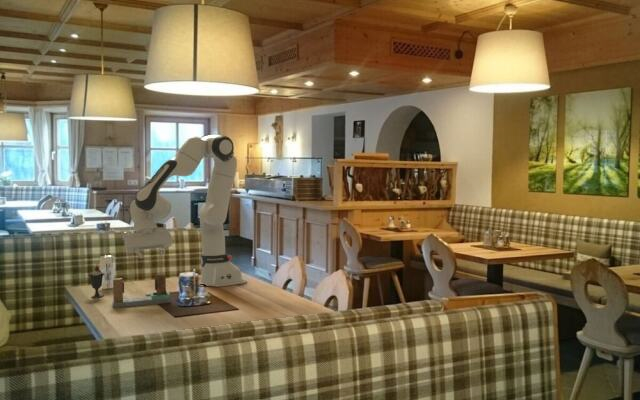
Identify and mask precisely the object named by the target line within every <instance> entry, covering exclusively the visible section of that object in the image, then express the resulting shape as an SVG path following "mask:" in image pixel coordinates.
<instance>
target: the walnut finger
mask: <svg viewBox="0 0 640 400" xmlns="http://www.w3.org/2000/svg"><path fill="white" fill-rule="evenodd" d="M166 285H167V283H166V275H165V274H155V278H154V291H155V292H157V295H164V294H166V291H167V286H166Z"/></svg>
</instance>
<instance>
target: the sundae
mask: <svg viewBox="0 0 640 400" xmlns="http://www.w3.org/2000/svg"><path fill="white" fill-rule="evenodd" d="M98 265H99V264H98V263H96V265H95V267H94V268H93V269H92V271H91V272H90V273H89V274H88V277H89V279H90V283H91V287H92V288H93V289H94V290H95V293H94V295H92V296H91V297H90V298H91V299H101V298H103V297H104V295H101V294H100V292H99V289H100V288H102V278H103V275H104V273H103V272H101V270H100V266H98Z"/></svg>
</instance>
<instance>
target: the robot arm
mask: <svg viewBox="0 0 640 400" xmlns="http://www.w3.org/2000/svg"><path fill="white" fill-rule="evenodd" d="M234 146H235V145H234V143H233V140H232V139H231V138H230V137H228V136H226V135H223V134H218V133H217V134H216V133H215V134H205V135H203V136H201V137H199V136H196V135H195V136H193V135H191V136H190V137H189V138H188V139H187V140H186V141H184V143H183V144H182V146H180V148H179V149H178V151H177V153H176V154H175V155H174V156H173V157H172V158H171V159H168V160H166V161H165V162H164V163H163V164H161V166H160V167H159V168H158V169H157V171H156V172H155V173H154V174H153V175H152V177H151V178H150V179H149V180H148V181H147V182H146V183H145V184H144V185H143V186H142V187H141V188H140V189H139V190H138V191H137V192H136V194H135V197H134V199H133V200H132V201H131V203H130V205H129V206H130V207H129V210H130V211H129V212H130V218H131V221H132V222H133V229H134V231H126V232H124V233H123V234H122V235H121V237H122V240H123V242H124V248H125V251H126V252H128V253H130V252H134V253H135V254H136V255H138V258H139V259H143V258H144V253H143V252H141V251H144V250H154V249H160V248H161V250H160V255H161V256H165V255H166V251H165V250H166V248H170V247H172V245H173V242H174V241H173V240H174V239H173V236H172V234H171V232H170V231H169V230H168V229H167V224H166V223H162V222H157V221H160V220H162V219H164V218H166V217H168V215H169V214H170V213H171V210H172V203H171V202H170V201H169V200H168V199H167V198H166V197H164V196H162V195H161V194H160V193H159V192H160V190H161V189H162V188H163V186H164V185H165V184H166V182H167V181H169V179H170V178H171V177H174V176H178V177H189V176H191V175H193V173H194V172H195V171H196V170H197V168H198V167H199V165H200V163H201V162H202V160H203V159H204V158H205V157H208V158H213V168H212V170H211V174H210V179H209V183H208V186H207V192H206V200H205V203H204V204H203V205H202V206H201V207H200V209H199V214H198V215H199V227H200V236H201V256H200V264H201V275H200V280H199V283H200V282H201V283H204V284H205V285H206V287H217V288H219V287H225V286H226V287H227V286H232V285H233V286H235V285H242V284H246V283H247V282H248V281H247V279H246V278H245V277H243V276H242V271H241V269H240V268H239V267H238V266H237V265H235V264H234V263H232V262H231V260H232V259H233V257H232V255H230V254H227V253H226V236H225V231H224V224H225V222H226V220H227V216H228V211H229V205H230V198H231V193H232V188H233V185H234V181H235V178H236V172H237V166H238V159H237V157H236V156H235V155H234V150H235V149H234V148H235V147H234Z"/></svg>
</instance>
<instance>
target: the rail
mask: <svg viewBox="0 0 640 400" xmlns="http://www.w3.org/2000/svg"><path fill="white" fill-rule="evenodd" d="M112 289H113V290H112V292H113V294H112V295H113V299H112V308H113V309H117V308H129V307H131V308H132V307H139V306H149V305H162V304H171V294H170V292H169V291H168V290H166V294H164V295H157V291H155V292H154V291H153V292H150V294H149V296H139V297H126V298H124V293H125V281H124V280H123V278H122V277H118V278H117V277H116V278H115V277H114V279H113V288H112Z"/></svg>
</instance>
